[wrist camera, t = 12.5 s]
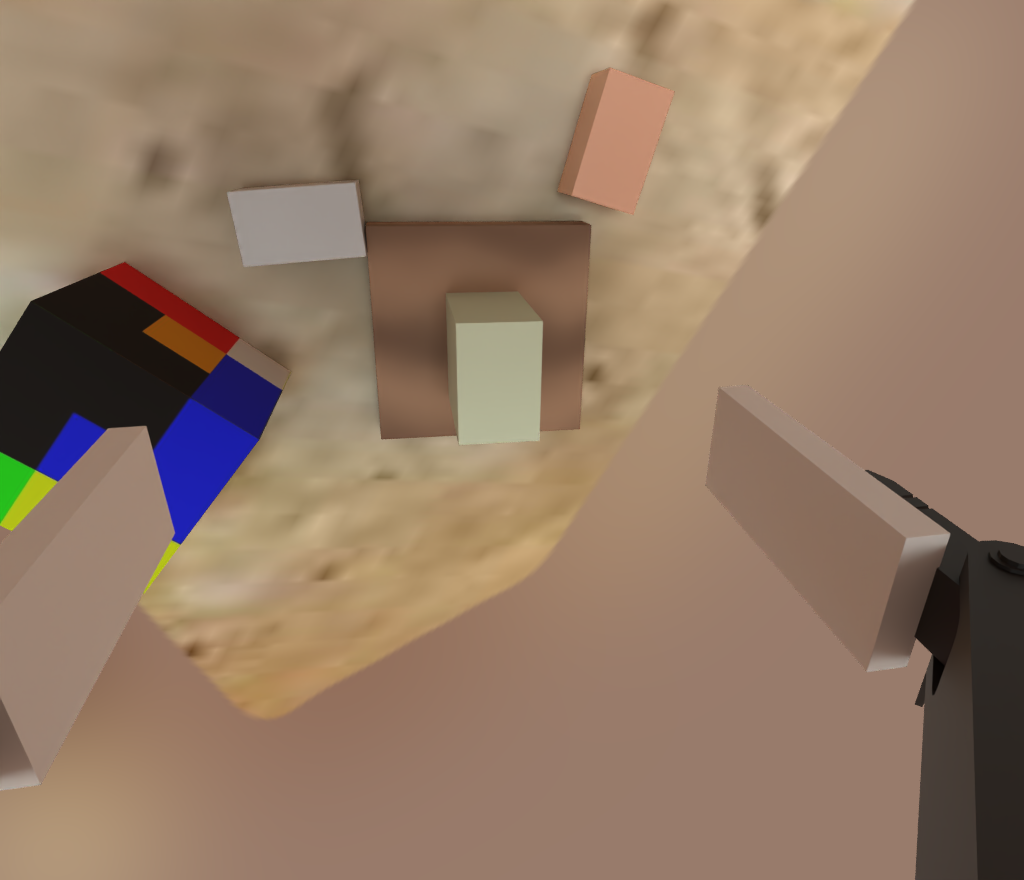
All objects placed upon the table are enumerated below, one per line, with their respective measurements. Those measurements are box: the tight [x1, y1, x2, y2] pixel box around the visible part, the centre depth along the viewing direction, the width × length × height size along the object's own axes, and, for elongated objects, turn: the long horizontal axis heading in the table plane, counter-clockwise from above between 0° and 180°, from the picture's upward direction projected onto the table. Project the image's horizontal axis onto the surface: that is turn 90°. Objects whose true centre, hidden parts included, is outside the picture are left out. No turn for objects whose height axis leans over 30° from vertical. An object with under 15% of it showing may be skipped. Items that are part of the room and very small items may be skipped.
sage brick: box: [446, 291, 543, 445], centre depth 35 cm, size 6×4×7 cm, turn 0°
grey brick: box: [227, 180, 367, 267], centre depth 34 cm, size 6×4×4 cm, turn 94°
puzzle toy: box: [0, 262, 291, 594], centre depth 33 cm, size 10×10×10 cm
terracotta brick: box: [557, 68, 675, 215], centre depth 35 cm, size 6×4×4 cm, turn 164°
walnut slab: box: [366, 221, 591, 439], centre depth 38 cm, size 12×12×2 cm
